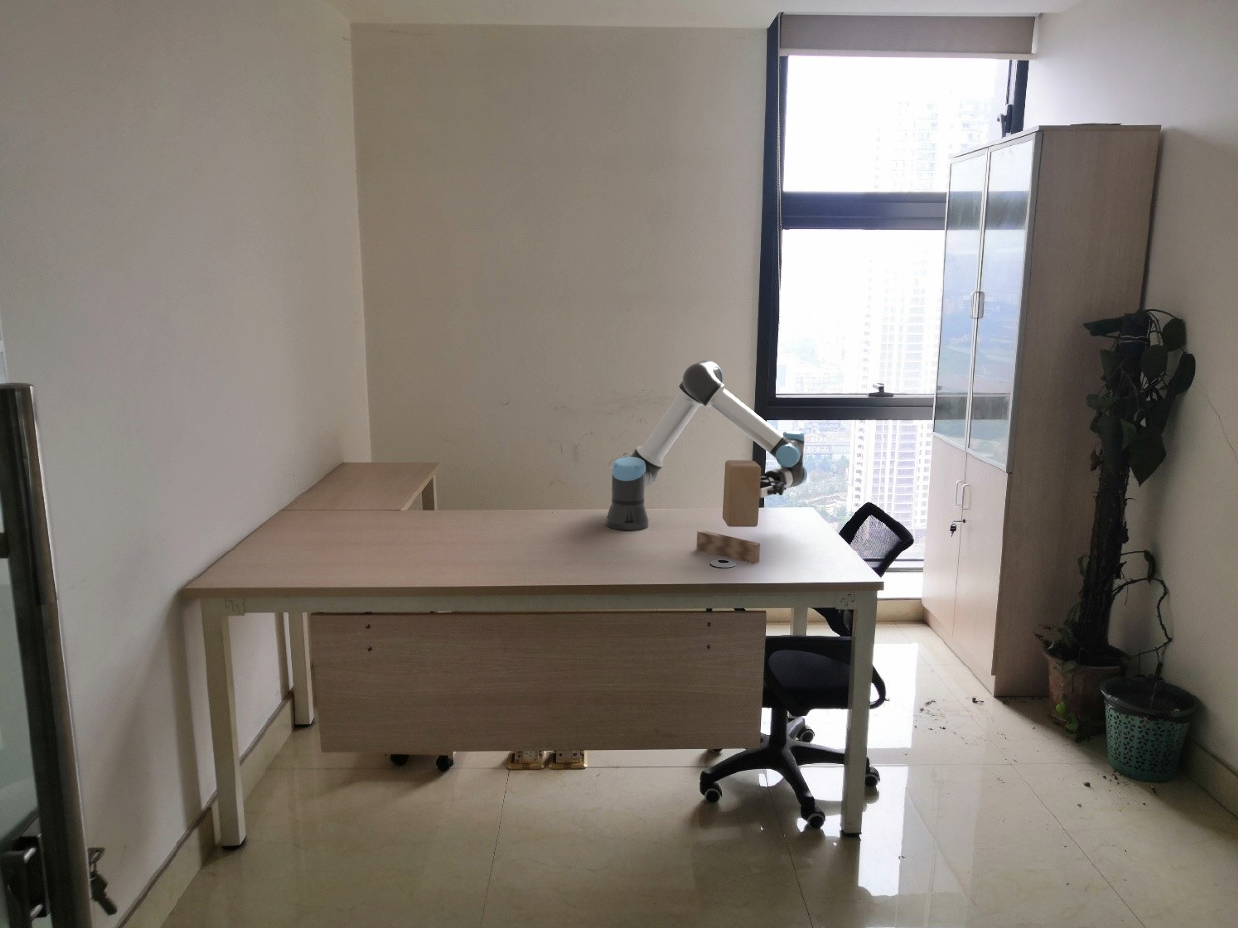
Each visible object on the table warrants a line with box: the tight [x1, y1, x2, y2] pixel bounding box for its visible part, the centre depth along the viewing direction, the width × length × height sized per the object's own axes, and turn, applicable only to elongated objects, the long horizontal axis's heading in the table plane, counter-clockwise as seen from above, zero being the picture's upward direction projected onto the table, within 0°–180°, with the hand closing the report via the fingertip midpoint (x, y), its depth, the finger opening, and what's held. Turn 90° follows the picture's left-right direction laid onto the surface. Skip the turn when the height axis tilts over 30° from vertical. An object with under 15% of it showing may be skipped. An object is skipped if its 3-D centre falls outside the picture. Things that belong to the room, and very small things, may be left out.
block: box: [722, 459, 762, 528], centre depth 287 cm, size 10×10×20 cm
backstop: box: [696, 529, 761, 565], centre depth 284 cm, size 22×2×6 cm, turn 50°
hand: (742, 490), depth 288 cm, fingers closed on block, 13 cm apart
